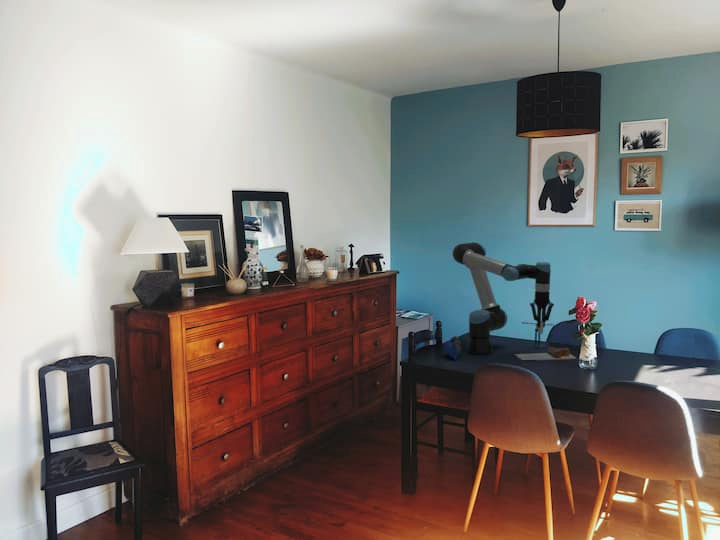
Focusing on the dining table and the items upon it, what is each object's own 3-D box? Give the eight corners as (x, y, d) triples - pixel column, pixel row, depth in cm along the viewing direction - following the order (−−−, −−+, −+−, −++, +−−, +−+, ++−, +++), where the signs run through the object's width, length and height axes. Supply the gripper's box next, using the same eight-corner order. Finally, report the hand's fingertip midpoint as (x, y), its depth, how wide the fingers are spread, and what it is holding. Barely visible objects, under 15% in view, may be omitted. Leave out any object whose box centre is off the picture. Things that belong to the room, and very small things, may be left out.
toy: (461, 354, 322) (462, 360, 307) (444, 355, 323) (444, 361, 308) (460, 335, 321) (460, 340, 306) (443, 336, 322) (442, 341, 308)
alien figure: (556, 348, 329) (557, 315, 327) (555, 350, 325) (555, 317, 323) (521, 344, 339) (521, 313, 337) (519, 347, 334) (519, 314, 332)
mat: (522, 361, 304) (522, 360, 304) (514, 355, 316) (514, 354, 316) (576, 358, 306) (576, 357, 305) (567, 353, 317) (567, 352, 317)
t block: (554, 358, 306) (554, 351, 306) (547, 353, 316) (547, 347, 315) (572, 357, 306) (572, 351, 306) (564, 352, 316) (564, 346, 316)
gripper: (533, 292, 302) (531, 335, 306) (556, 291, 303) (555, 334, 306) (528, 289, 310) (526, 331, 313) (551, 289, 311) (549, 331, 314)
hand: (540, 333), depth 310 cm, fingers closed
